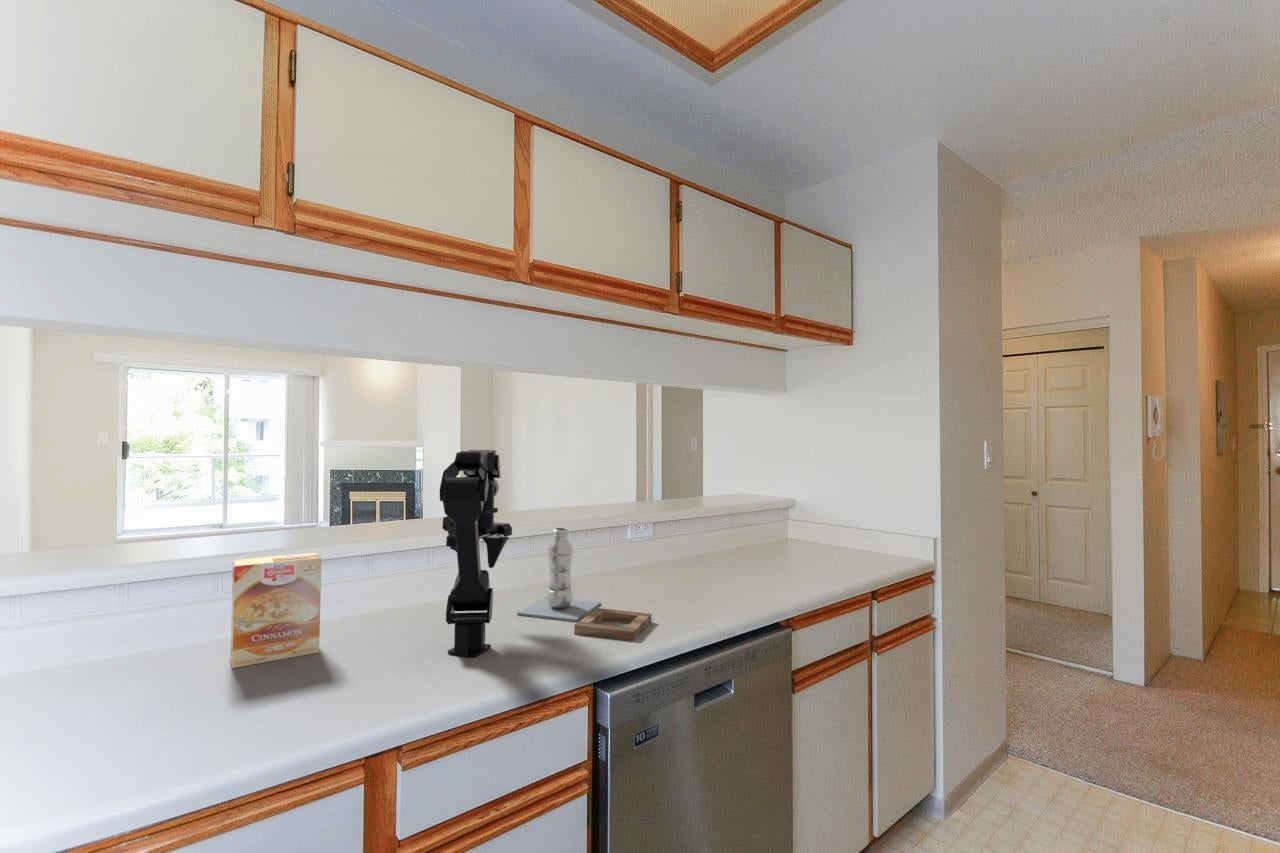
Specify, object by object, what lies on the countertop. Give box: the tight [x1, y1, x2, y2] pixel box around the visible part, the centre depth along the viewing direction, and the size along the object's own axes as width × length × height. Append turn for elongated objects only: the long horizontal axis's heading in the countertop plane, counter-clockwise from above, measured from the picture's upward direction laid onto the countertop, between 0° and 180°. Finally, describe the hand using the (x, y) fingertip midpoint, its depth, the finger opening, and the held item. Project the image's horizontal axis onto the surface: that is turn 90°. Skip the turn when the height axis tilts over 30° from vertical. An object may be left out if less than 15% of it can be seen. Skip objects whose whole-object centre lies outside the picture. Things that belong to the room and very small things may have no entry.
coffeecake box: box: [230, 551, 322, 669], centre depth 121 cm, size 15×7×20 cm, turn 126°
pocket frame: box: [573, 607, 653, 642], centre depth 141 cm, size 14×14×2 cm
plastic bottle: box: [546, 527, 574, 608], centre depth 155 cm, size 6×7×20 cm
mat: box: [516, 595, 602, 623], centre depth 155 cm, size 16×16×1 cm
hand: (480, 571), depth 139 cm, fingers open, 9 cm apart
